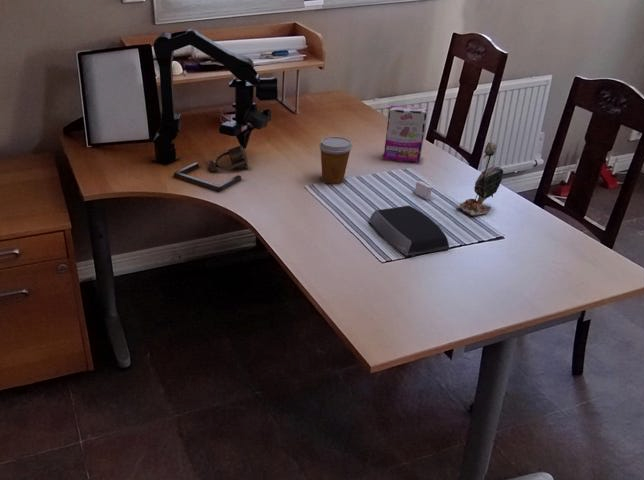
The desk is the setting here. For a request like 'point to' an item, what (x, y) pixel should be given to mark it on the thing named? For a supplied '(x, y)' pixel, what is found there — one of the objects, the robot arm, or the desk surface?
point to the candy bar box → (405, 133)
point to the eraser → (423, 190)
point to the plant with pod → (484, 185)
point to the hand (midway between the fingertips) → (243, 148)
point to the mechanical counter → (236, 157)
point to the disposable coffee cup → (334, 158)
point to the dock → (182, 175)
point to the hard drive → (409, 230)
